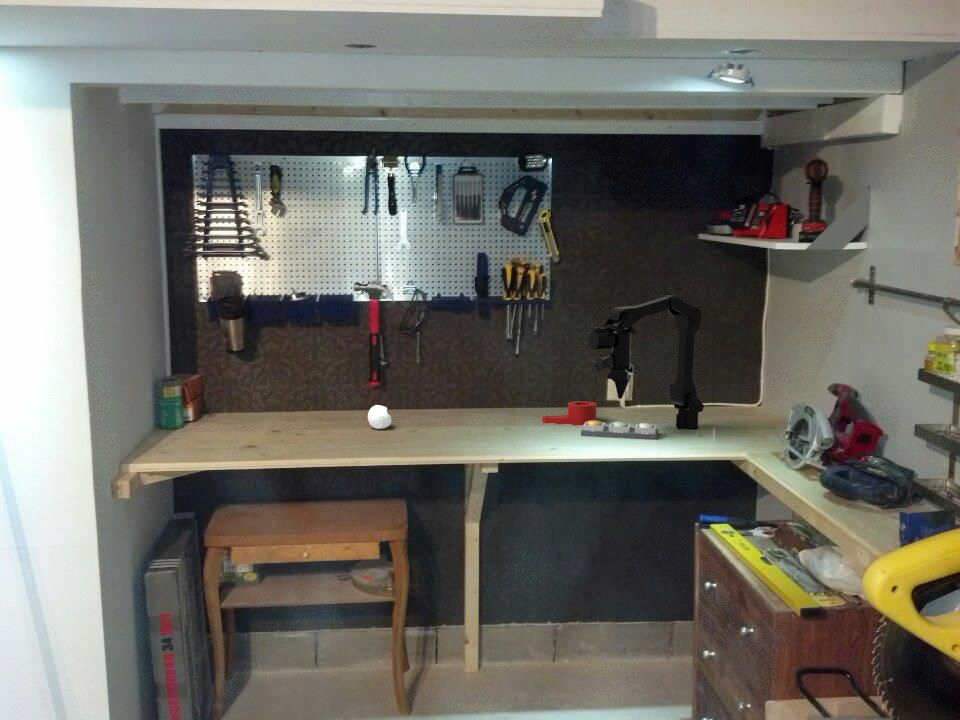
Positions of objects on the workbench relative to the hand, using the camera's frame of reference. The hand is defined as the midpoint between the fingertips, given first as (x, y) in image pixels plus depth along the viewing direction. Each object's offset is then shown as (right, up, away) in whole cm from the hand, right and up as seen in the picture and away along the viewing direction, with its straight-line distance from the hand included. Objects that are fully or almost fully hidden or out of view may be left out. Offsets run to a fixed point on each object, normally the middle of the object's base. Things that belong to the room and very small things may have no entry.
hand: (620, 398), depth 290 cm
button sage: (0, -10, +1) cm, 10 cm away
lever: (-14, -9, +21) cm, 26 cm away
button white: (+8, -10, -1) cm, 13 cm away
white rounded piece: (-76, -11, +11) cm, 77 cm away
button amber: (-8, -9, +3) cm, 13 cm away
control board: (0, -11, +2) cm, 12 cm away
